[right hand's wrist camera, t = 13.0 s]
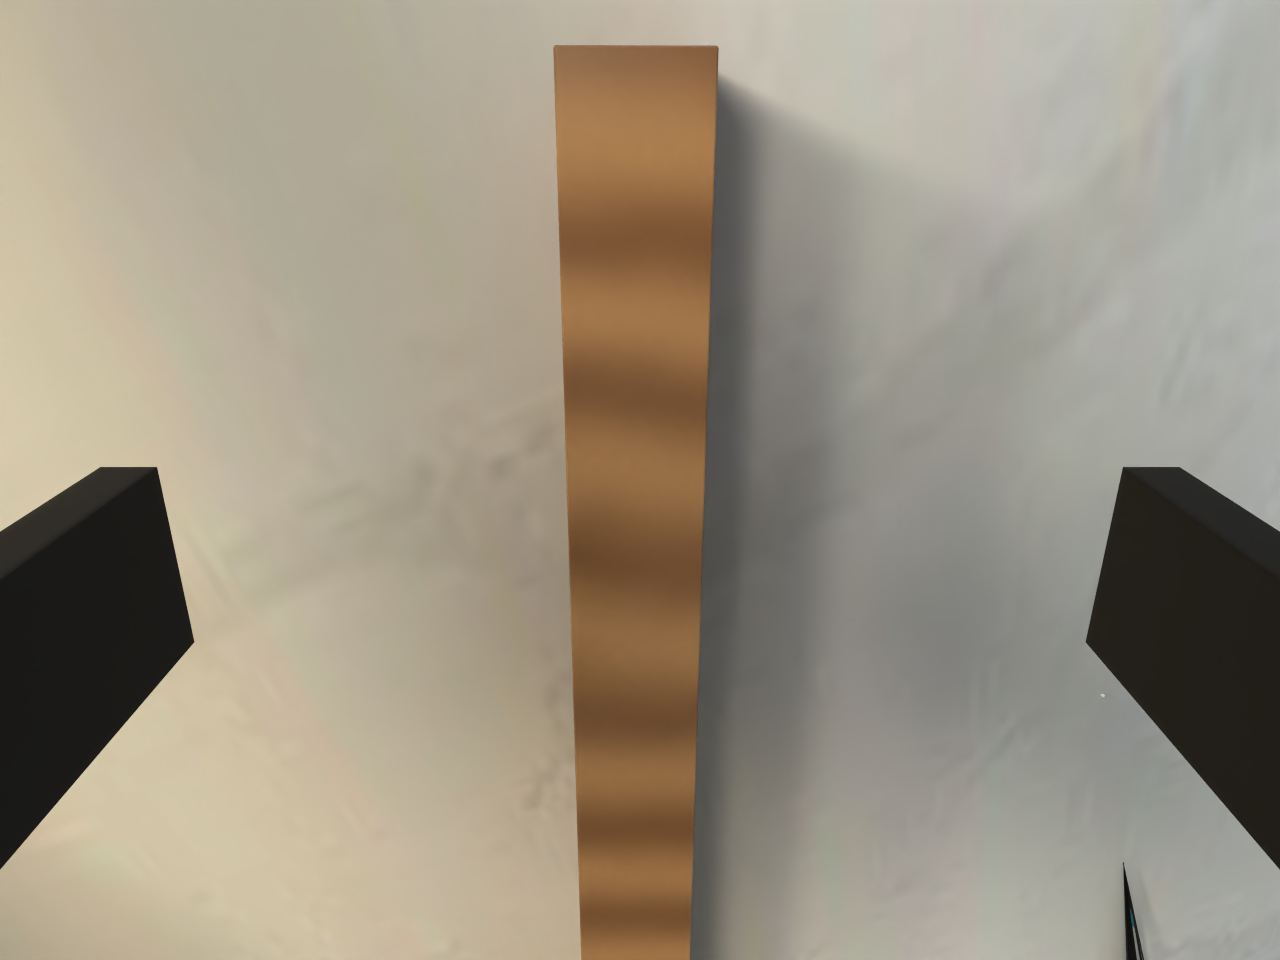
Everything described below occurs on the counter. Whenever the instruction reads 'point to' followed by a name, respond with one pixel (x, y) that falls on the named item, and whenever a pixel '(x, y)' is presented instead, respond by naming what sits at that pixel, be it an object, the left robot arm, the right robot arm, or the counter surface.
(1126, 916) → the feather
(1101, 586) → the right robot arm
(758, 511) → the counter surface
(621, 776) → the post
